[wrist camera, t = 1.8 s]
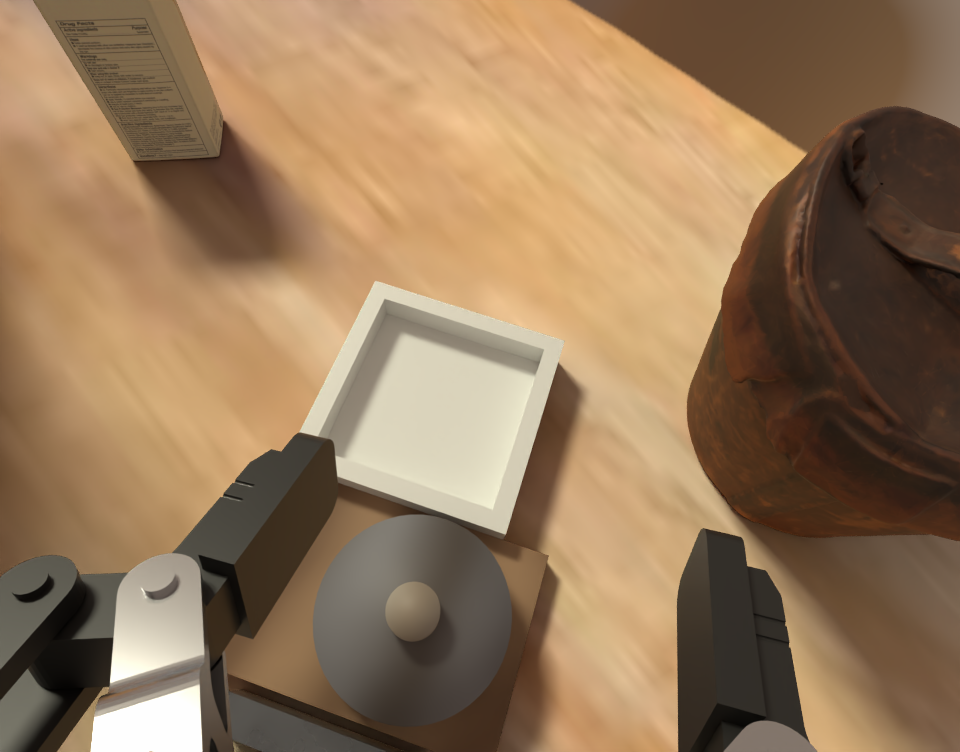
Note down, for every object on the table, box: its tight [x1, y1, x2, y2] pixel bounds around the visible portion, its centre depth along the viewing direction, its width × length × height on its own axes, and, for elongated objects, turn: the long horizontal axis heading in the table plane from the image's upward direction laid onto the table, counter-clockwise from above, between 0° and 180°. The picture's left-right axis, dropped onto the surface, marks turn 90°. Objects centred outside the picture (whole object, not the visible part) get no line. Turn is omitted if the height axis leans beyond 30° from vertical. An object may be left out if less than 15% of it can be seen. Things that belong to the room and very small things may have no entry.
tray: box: [299, 281, 565, 540], centre depth 35 cm, size 12×12×2 cm
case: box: [687, 106, 960, 541], centre depth 29 cm, size 18×20×18 cm
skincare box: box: [33, 0, 223, 161], centre depth 39 cm, size 6×4×12 cm
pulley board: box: [225, 483, 549, 752], centre depth 29 cm, size 14×10×5 cm
